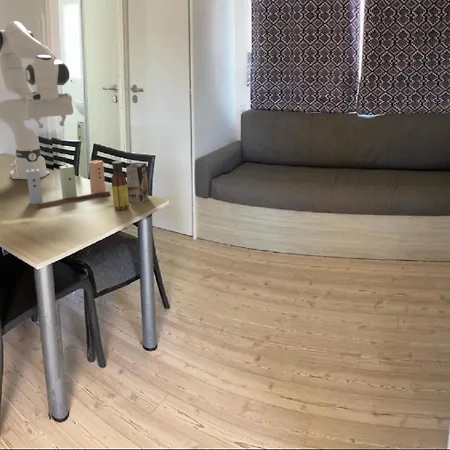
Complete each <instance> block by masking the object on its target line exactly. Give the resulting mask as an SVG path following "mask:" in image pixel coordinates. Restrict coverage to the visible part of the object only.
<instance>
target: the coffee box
mask: <svg viewBox="0 0 450 450" xmlns="http://www.w3.org/2000/svg"><path fill="white" fill-rule="evenodd" d="M147 166H148V165H147V162H132V163H130V164H129V165H127V166H126V167H125V168H126V181H127V188H128V197H129V204H135V205H137V204H138V205H142V204H144V202H145V201H146V200H148V199H149V188H148V187H149V186H148V184H149V183H148V169H147Z"/></svg>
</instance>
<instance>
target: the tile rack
mask: <svg viewBox="0 0 450 450" xmlns="http://www.w3.org/2000/svg"><path fill="white" fill-rule="evenodd" d="M109 196H111V192H110V190H105V192H99V193H88V194H83V195H77V196H76V197H71V198H65V199H64V198H60V199H54V200H49V201H43V202H42V203H37V204H36V206H37V209H41V208H42V209H43V208H48V207H53V206H58V205H63V204H69V203H74V202H75V203H76V202H81V201H86V200H91V199H97V198H103V197H109Z"/></svg>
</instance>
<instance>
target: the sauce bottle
mask: <svg viewBox="0 0 450 450" xmlns="http://www.w3.org/2000/svg"><path fill="white" fill-rule="evenodd" d="M111 166H112V171H113V172H112V173H113V174H112V175H111V181H110V182H111V189H112V190H111V191H112V197H113V198H112V199H113V200H112V201H113V206H114V209H115V210H117V211H125V210H128V209H129V208H130V203H129V197H128V188H127V176H125V174H124V171H123V162H122V161H121V160H114V161H112V162H111Z"/></svg>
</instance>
